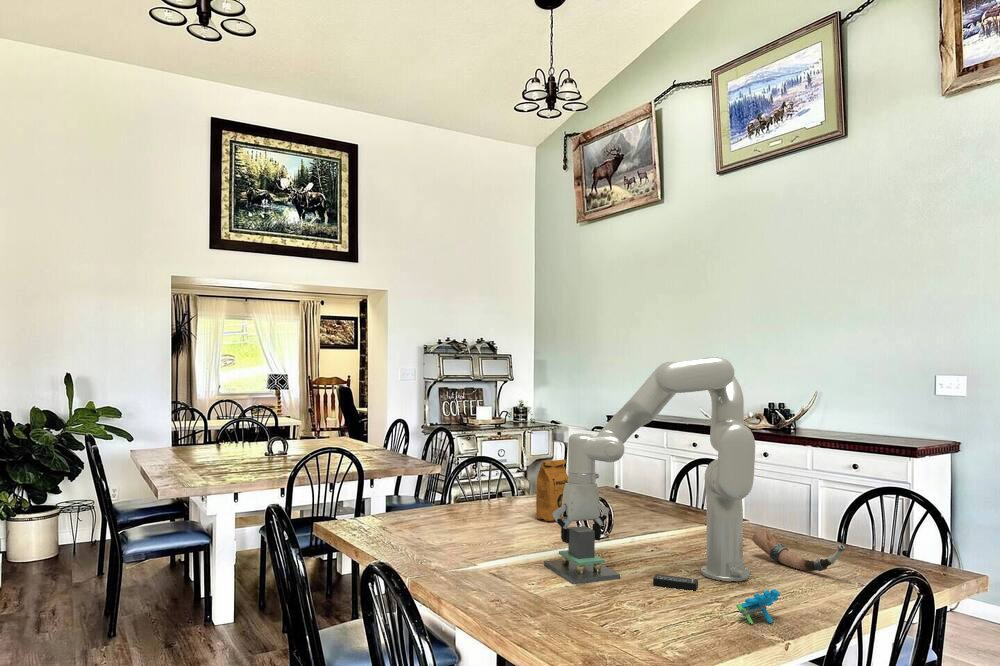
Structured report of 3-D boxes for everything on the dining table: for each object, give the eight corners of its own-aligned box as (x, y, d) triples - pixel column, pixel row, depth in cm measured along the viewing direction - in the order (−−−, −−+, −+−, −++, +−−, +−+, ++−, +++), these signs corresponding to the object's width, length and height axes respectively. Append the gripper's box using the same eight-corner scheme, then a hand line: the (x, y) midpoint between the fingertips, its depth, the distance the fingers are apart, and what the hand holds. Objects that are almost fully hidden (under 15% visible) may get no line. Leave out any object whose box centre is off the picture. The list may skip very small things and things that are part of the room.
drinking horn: (761, 554, 211) (761, 521, 212) (851, 582, 185) (851, 544, 185) (748, 556, 208) (748, 523, 209) (838, 585, 182) (837, 546, 183)
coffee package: (575, 520, 255) (576, 460, 256) (548, 524, 248) (548, 462, 249) (559, 515, 263) (560, 457, 264) (532, 518, 257) (533, 459, 258)
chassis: (620, 578, 185) (620, 564, 185) (573, 584, 180) (573, 569, 180) (587, 560, 202) (587, 548, 202) (544, 565, 197) (544, 552, 197)
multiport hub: (655, 582, 184) (655, 573, 184) (698, 588, 180) (698, 579, 180) (652, 587, 180) (652, 578, 180) (696, 593, 175) (696, 583, 176)
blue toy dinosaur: (767, 603, 163) (783, 582, 156) (781, 627, 159) (798, 607, 152) (726, 613, 160) (741, 593, 153) (740, 638, 156) (756, 618, 149)
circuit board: (604, 562, 187) (605, 533, 187) (578, 565, 184) (578, 535, 184) (583, 551, 198) (583, 523, 199) (558, 554, 195) (558, 525, 196)
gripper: (601, 475, 199) (601, 535, 198) (547, 478, 192) (547, 540, 192) (615, 479, 192) (615, 541, 191) (559, 482, 185) (559, 546, 185)
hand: (581, 540), depth 191 cm, fingers open, 9 cm apart
